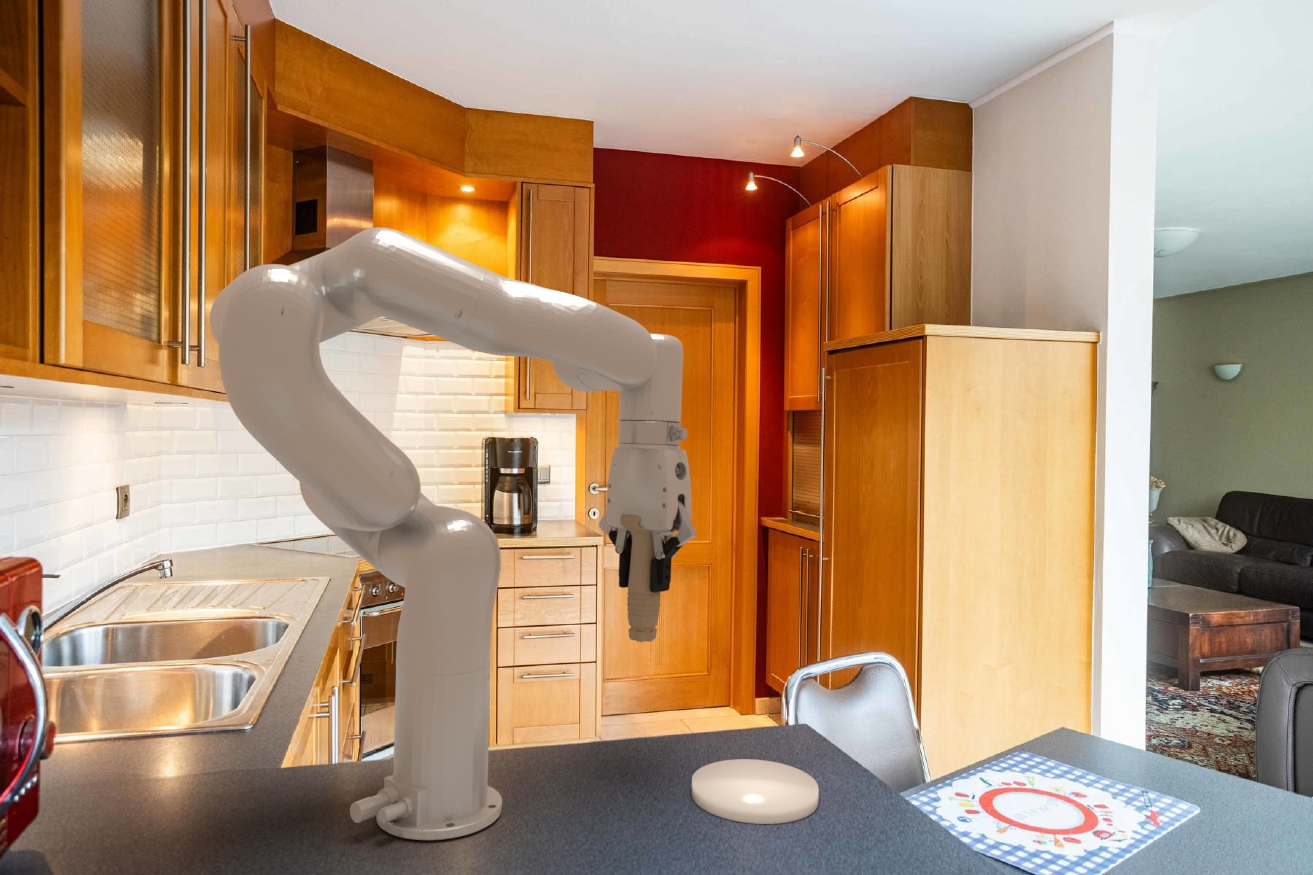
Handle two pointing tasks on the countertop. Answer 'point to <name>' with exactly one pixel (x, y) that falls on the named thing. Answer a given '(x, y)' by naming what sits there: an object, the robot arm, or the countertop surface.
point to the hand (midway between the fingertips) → (644, 587)
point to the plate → (755, 791)
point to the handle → (641, 583)
